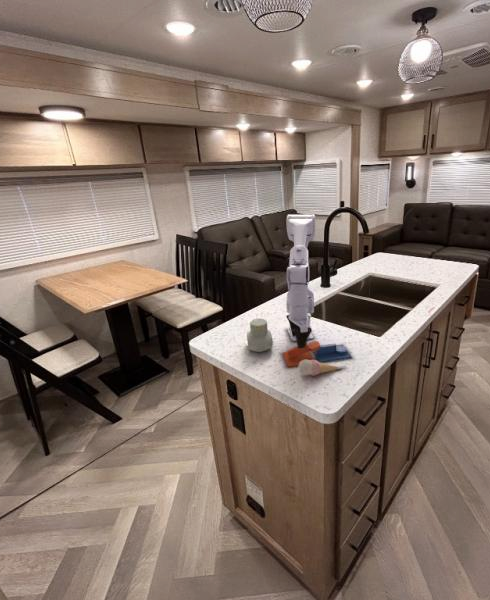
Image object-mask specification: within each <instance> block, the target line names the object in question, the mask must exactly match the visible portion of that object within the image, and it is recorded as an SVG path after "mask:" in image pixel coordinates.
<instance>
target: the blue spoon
mask: <svg viewBox="0 0 490 600" xmlns="http://www.w3.org/2000/svg"><path fill="white" fill-rule="evenodd" d="M337 345H339V346H337ZM342 345H343V344H336V343H329V344H320V348H319V349H318V350H317V351H315V353H314V355H315V354H316V355H323V354H331V353H337V354H340V355H342V354H346V352H347V351H348V348H347V347H346V346H345V345H343V346H342ZM316 355H315V356H316Z"/></svg>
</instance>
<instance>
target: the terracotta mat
mask: <svg viewBox="0 0 490 600" xmlns="http://www.w3.org/2000/svg"><path fill="white" fill-rule="evenodd" d="M282 355H283V358H284V361H285V364H286V366H287V368H291V367H298V365H299V363H300V362H301V361H302V360H306V359H307V360H315V359H314V357H313V355H312V354H311V351H308V352H306V353H304V354H301V355H299V356H297V357H295V358H292V359H290V357H289V355H288V352H287V351H283V352H282Z"/></svg>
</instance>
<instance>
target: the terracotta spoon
mask: <svg viewBox="0 0 490 600" xmlns="http://www.w3.org/2000/svg"><path fill="white" fill-rule="evenodd" d="M320 345H321V344H320V342H319V341H318V340H313V341H311V342H309V343H307V342H306V346H305V348H298V345H296V346H294V347H292V348H289V349H287V350H286V352H288V355H289V357H290V359H292V358H295V357H297V356H299V355H301V354H304V353H306V352H308V351H310V352H313V353H314V351H317V350H318V349H319V348H320Z"/></svg>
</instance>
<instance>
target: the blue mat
mask: <svg viewBox="0 0 490 600" xmlns="http://www.w3.org/2000/svg"><path fill="white" fill-rule="evenodd" d="M336 345H337V346H339V345H340V344H336ZM341 345H342V346H344V344H341ZM313 353H314V355H315V357H316V360H317V361H318V362H320V363H326V362H327V363H328V362H332V361H340V360H347V359H352V355H351V354H350V353H349V351H348V350H347V352H346V354H342V355H340V354H337V353H331V354H323V355H316V354H315V351H314V352H313Z"/></svg>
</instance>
